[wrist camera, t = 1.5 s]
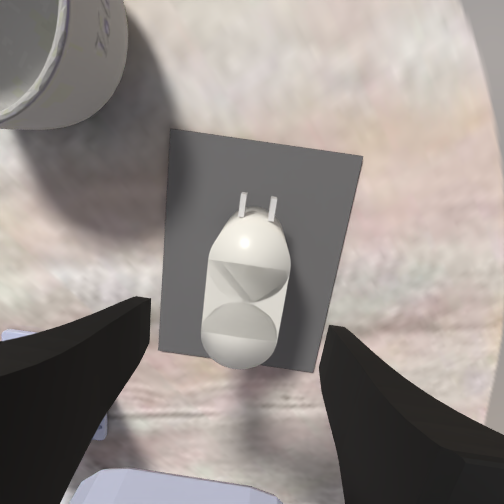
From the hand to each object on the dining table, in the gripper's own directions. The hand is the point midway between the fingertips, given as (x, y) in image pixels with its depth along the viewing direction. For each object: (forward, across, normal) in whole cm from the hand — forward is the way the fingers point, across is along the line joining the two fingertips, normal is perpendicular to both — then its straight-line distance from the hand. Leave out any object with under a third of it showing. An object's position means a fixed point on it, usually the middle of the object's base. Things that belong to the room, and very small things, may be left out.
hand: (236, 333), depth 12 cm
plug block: (+9, 0, 0) cm, 9 cm away
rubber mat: (+10, 0, 0) cm, 10 cm away
